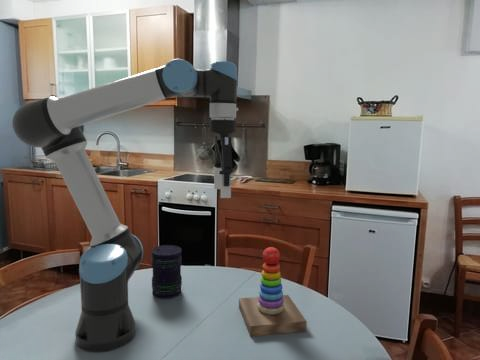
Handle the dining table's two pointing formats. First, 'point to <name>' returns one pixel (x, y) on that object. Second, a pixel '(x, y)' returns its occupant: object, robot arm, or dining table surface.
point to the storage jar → (166, 271)
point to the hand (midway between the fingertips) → (221, 193)
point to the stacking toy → (271, 284)
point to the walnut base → (271, 318)
